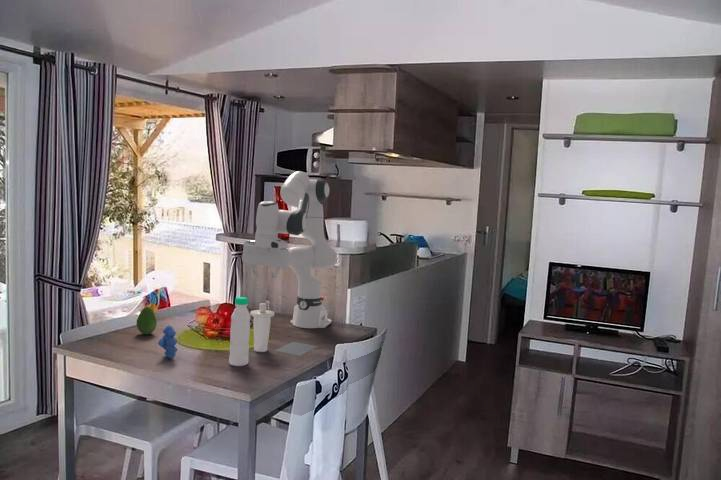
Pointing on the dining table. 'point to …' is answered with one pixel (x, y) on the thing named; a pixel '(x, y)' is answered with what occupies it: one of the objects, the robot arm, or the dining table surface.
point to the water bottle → (240, 333)
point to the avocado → (146, 321)
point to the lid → (262, 312)
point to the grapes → (169, 342)
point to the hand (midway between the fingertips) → (264, 276)
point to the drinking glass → (261, 333)
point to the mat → (296, 348)
